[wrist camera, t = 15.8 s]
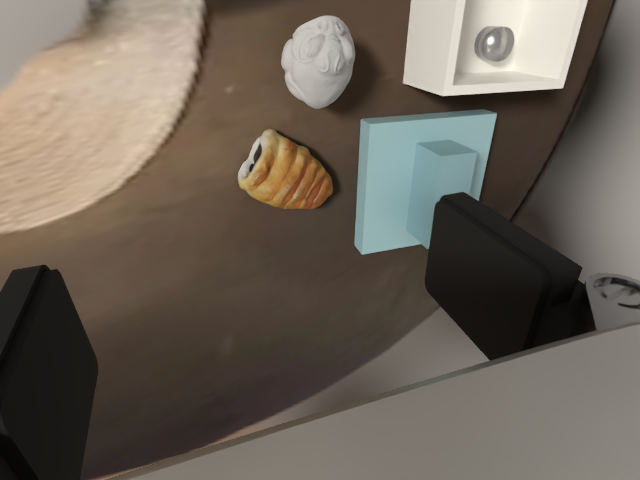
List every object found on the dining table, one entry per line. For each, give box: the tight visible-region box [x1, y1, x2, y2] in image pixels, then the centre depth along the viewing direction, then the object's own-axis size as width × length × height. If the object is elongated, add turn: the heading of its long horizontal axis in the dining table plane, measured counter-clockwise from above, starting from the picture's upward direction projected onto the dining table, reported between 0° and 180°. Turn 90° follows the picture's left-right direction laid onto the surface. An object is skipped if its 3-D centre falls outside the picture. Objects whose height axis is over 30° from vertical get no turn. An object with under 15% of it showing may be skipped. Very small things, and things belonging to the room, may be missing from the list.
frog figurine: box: [281, 15, 355, 109], centre depth 34 cm, size 6×7×7 cm
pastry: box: [238, 129, 333, 210], centre depth 40 cm, size 9×7×4 cm
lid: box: [355, 109, 497, 254], centre depth 44 cm, size 15×15×7 cm
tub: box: [403, 0, 588, 96], centre depth 36 cm, size 13×13×7 cm
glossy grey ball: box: [474, 26, 514, 62], centre depth 40 cm, size 3×3×2 cm
